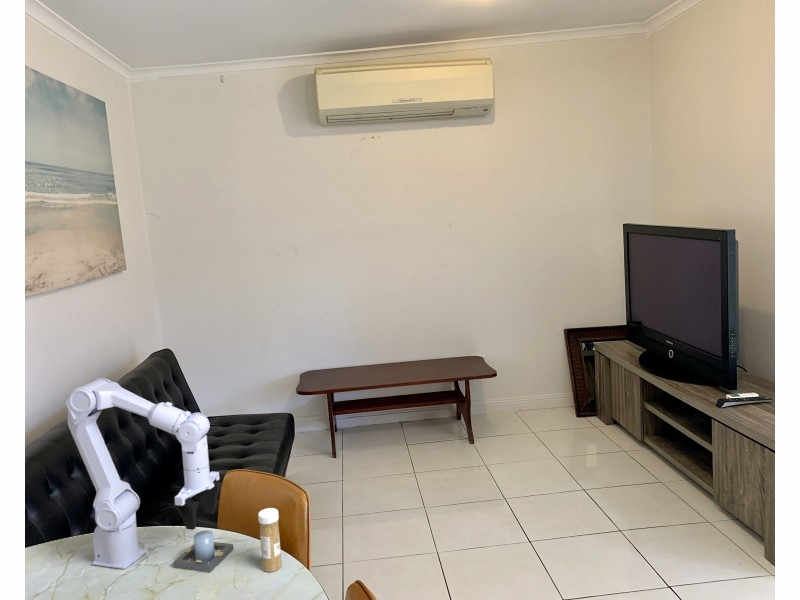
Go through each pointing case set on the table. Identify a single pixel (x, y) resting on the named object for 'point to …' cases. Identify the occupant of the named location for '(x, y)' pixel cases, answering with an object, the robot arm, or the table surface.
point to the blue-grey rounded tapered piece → (204, 546)
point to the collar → (201, 566)
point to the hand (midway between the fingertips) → (200, 520)
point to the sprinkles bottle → (270, 539)
